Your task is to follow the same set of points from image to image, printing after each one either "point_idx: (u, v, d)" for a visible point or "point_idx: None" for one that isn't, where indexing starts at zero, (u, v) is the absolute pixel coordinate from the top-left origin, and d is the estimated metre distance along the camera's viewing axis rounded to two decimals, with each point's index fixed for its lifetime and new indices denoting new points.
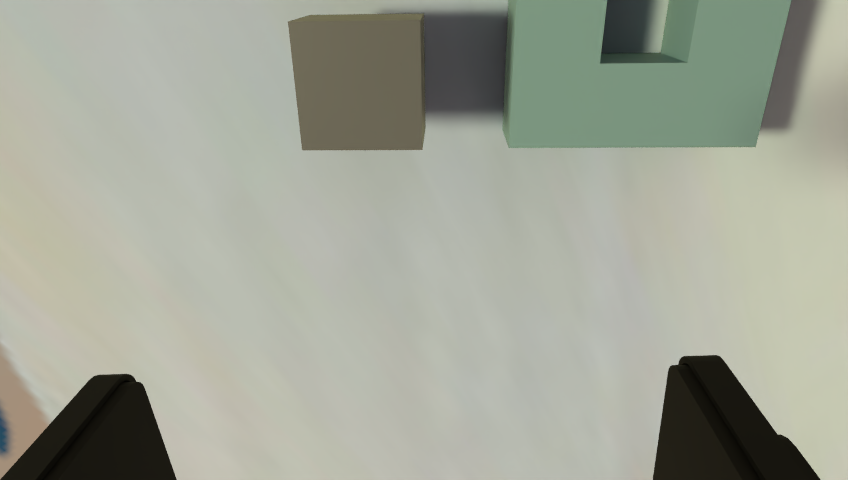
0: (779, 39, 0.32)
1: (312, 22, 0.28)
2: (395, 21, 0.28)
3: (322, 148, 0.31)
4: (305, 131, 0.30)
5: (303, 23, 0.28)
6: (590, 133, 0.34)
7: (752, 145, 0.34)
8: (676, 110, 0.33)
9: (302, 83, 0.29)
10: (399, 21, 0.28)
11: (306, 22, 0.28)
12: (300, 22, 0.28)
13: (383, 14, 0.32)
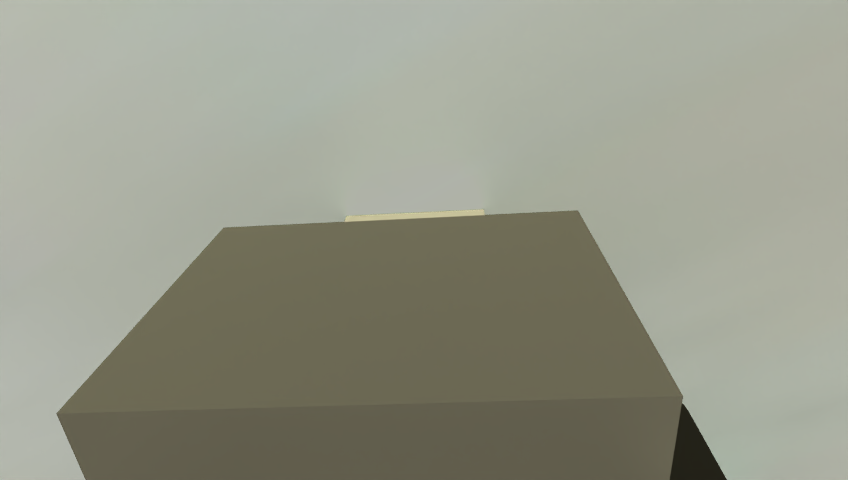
0: None
1: None
2: None
3: None
4: (156, 430, 0.06)
5: (664, 454, 0.06)
6: None
7: None
8: None
9: (388, 432, 0.06)
10: None
11: (667, 463, 0.06)
12: (671, 443, 0.06)
13: None
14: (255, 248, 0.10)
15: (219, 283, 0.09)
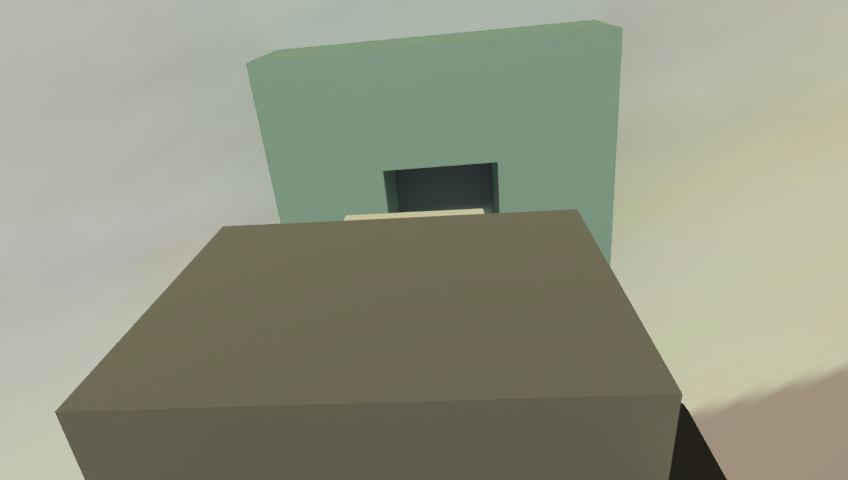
0: None
1: None
2: None
3: None
4: (155, 428, 0.06)
5: (664, 452, 0.06)
6: (290, 176, 0.25)
7: None
8: None
9: (387, 431, 0.06)
10: None
11: (666, 462, 0.06)
12: (670, 441, 0.06)
13: None
14: (254, 247, 0.10)
15: (218, 282, 0.09)
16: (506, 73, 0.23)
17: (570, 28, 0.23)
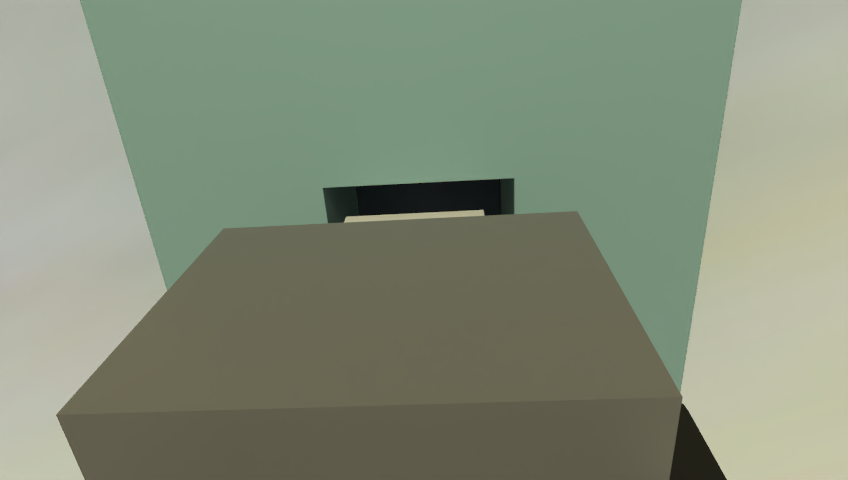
0: None
1: None
2: None
3: None
4: (156, 431, 0.06)
5: (664, 455, 0.06)
6: (170, 192, 0.15)
7: None
8: None
9: (388, 434, 0.06)
10: None
11: (666, 464, 0.06)
12: (670, 444, 0.06)
13: None
14: (254, 249, 0.10)
15: (219, 285, 0.09)
16: (535, 24, 0.13)
17: None
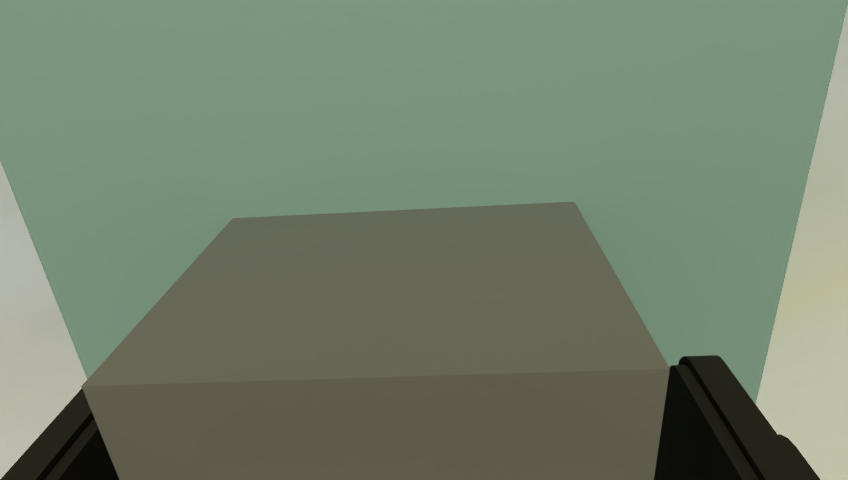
0: None
1: (652, 453, 0.07)
2: None
3: (118, 458, 0.07)
4: (175, 402, 0.06)
5: (653, 425, 0.06)
6: (81, 258, 0.11)
7: None
8: None
9: (393, 404, 0.06)
10: None
11: (655, 434, 0.06)
12: (659, 414, 0.06)
13: None
14: (263, 237, 0.10)
15: (231, 269, 0.09)
16: (560, 42, 0.09)
17: None
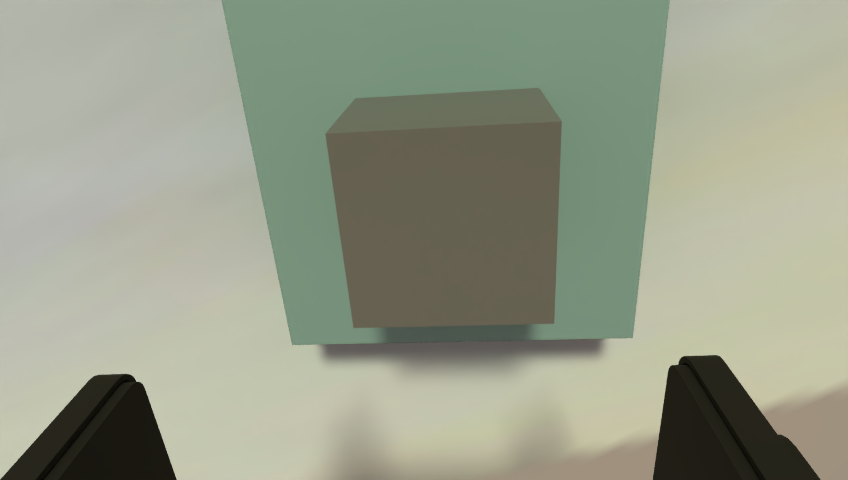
0: (428, 339, 0.25)
1: (558, 164, 0.16)
2: (553, 291, 0.18)
3: (333, 171, 0.16)
4: (362, 141, 0.16)
5: (557, 149, 0.16)
6: (269, 123, 0.21)
7: (293, 341, 0.25)
8: (325, 240, 0.23)
9: (452, 140, 0.16)
10: (553, 296, 0.18)
11: (558, 154, 0.16)
12: (559, 143, 0.16)
13: None
14: (376, 102, 0.19)
15: (366, 110, 0.18)
16: (530, 0, 0.19)
17: None
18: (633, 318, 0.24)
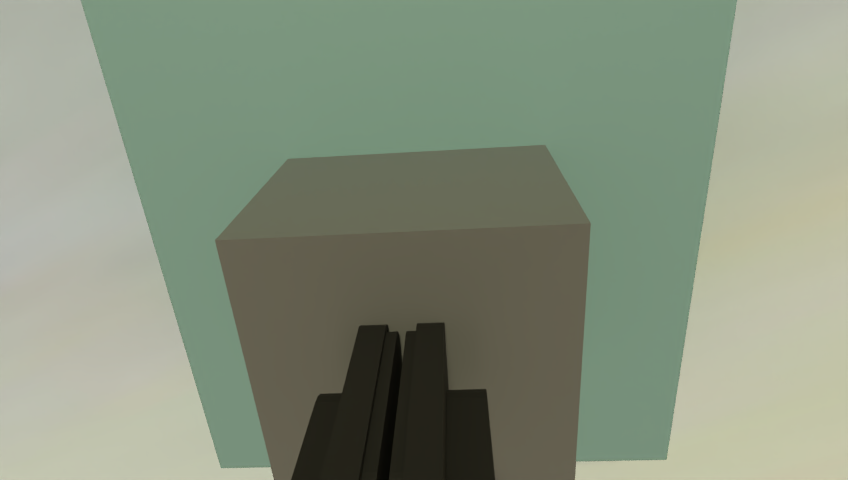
0: None
1: (583, 285, 0.10)
2: (573, 458, 0.12)
3: (233, 294, 0.10)
4: (274, 251, 0.10)
5: (582, 264, 0.10)
6: (170, 191, 0.15)
7: (222, 463, 0.19)
8: None
9: (416, 251, 0.10)
10: (573, 464, 0.12)
11: (584, 271, 0.10)
12: (586, 256, 0.10)
13: None
14: (314, 168, 0.14)
15: (295, 186, 0.12)
16: (532, 24, 0.13)
17: None
18: (668, 436, 0.18)
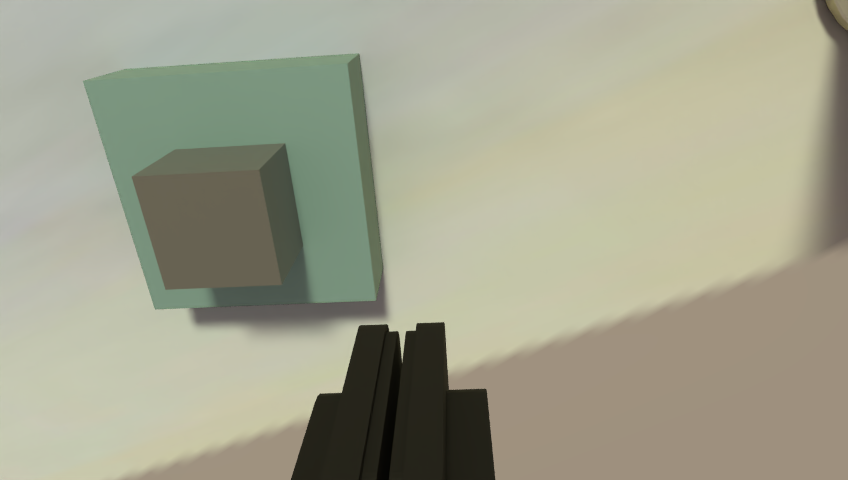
0: (244, 304, 0.37)
1: (262, 192, 0.28)
2: (276, 265, 0.30)
3: (139, 197, 0.29)
4: (152, 180, 0.28)
5: (259, 184, 0.28)
6: (123, 164, 0.33)
7: (155, 306, 0.38)
8: None
9: (201, 180, 0.28)
10: (277, 268, 0.30)
11: (261, 187, 0.28)
12: (260, 181, 0.28)
13: (295, 214, 0.34)
14: (182, 153, 0.32)
15: (170, 159, 0.31)
16: (270, 93, 0.31)
17: (323, 61, 0.32)
18: (373, 287, 0.36)
